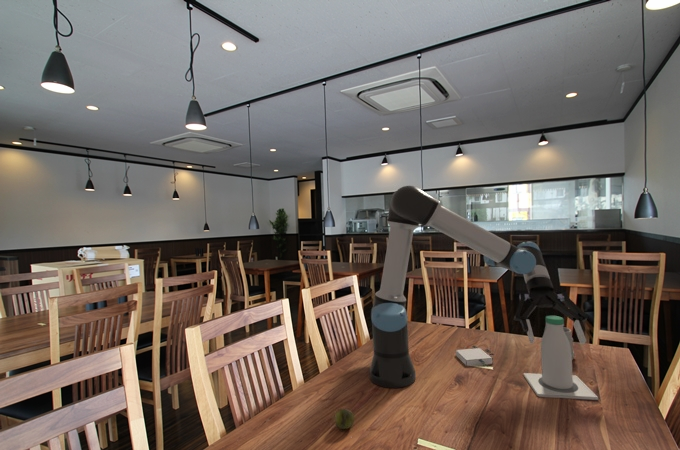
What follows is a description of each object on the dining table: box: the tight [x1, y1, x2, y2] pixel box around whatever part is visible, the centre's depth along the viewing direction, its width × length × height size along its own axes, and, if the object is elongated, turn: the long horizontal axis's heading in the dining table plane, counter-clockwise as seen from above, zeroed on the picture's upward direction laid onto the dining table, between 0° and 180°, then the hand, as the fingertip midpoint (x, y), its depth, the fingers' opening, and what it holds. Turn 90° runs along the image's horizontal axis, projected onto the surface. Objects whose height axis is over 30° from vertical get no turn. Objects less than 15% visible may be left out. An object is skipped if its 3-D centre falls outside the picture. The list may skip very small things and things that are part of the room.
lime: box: [334, 408, 355, 430], centre depth 86 cm, size 4×5×5 cm
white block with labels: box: [455, 345, 495, 367], centre depth 123 cm, size 20×12×3 cm, turn 3°
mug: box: [543, 323, 576, 361], centre depth 123 cm, size 8×12×12 cm, turn 8°
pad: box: [523, 372, 599, 401], centre depth 101 cm, size 15×13×1 cm
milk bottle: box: [540, 315, 573, 389], centre depth 101 cm, size 8×8×20 cm
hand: (557, 342), depth 100 cm, fingers open, 13 cm apart
